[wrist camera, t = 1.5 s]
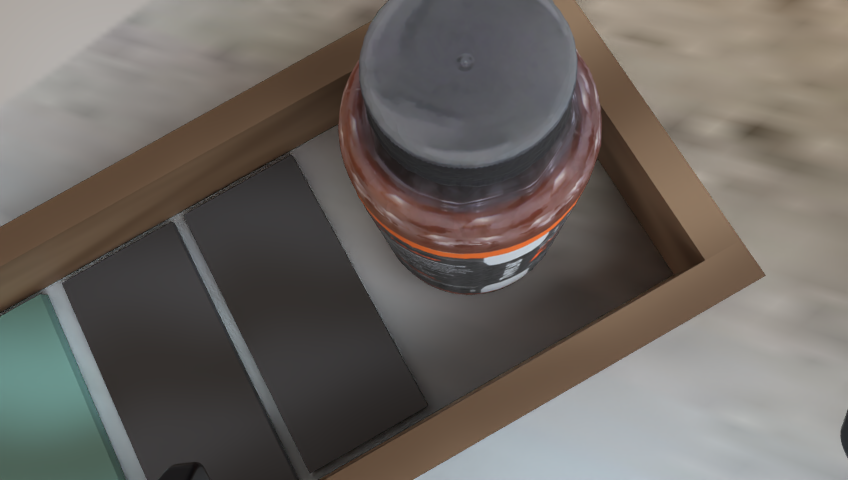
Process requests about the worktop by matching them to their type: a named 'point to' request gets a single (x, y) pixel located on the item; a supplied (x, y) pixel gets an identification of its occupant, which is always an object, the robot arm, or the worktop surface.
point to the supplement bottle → (469, 135)
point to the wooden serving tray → (294, 297)
